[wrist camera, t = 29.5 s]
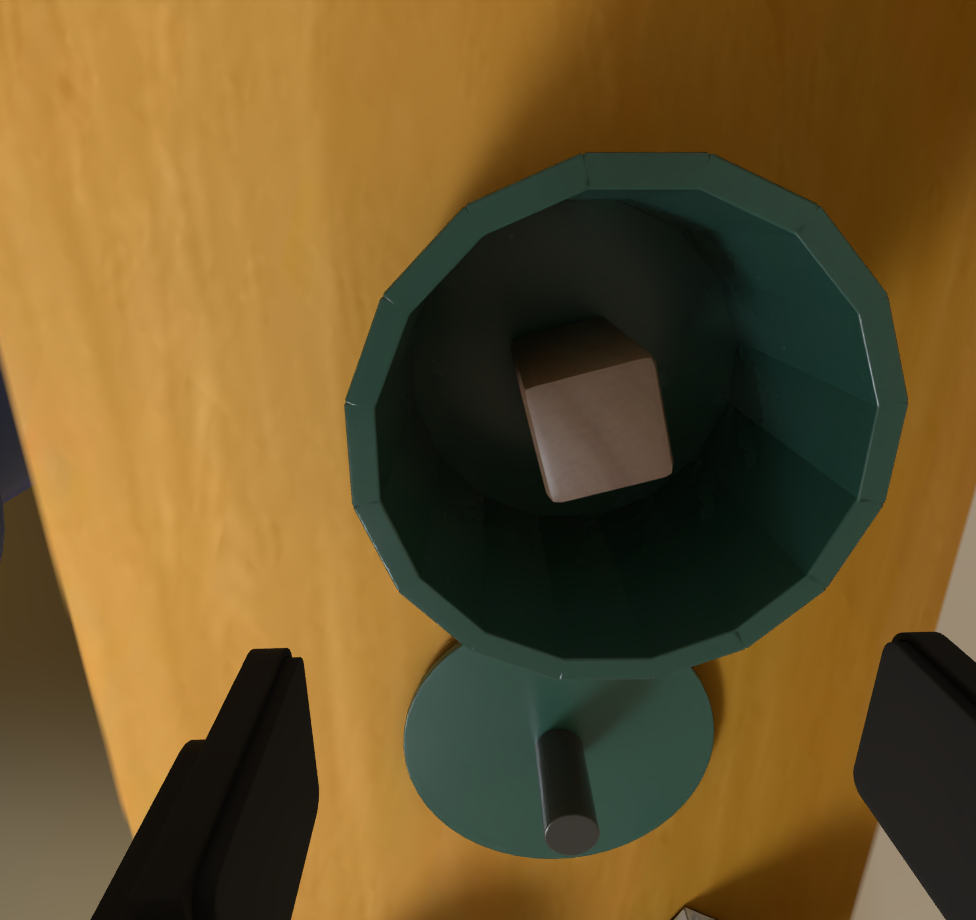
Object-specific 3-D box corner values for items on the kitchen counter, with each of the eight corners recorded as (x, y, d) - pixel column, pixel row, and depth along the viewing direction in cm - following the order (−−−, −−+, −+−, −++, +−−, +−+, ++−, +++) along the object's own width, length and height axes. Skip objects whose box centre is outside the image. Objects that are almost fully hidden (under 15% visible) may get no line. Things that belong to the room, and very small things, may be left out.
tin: (403, 527, 30) (365, 683, 20) (386, 178, 24) (323, 151, 15) (724, 526, 30) (844, 679, 20) (773, 178, 25) (968, 152, 15)
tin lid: (412, 842, 36) (399, 959, 31) (398, 602, 31) (380, 689, 25) (690, 839, 37) (729, 955, 31) (725, 600, 31) (780, 686, 25)
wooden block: (605, 312, 26) (657, 351, 18) (624, 406, 27) (679, 478, 20) (507, 338, 26) (519, 387, 19) (531, 430, 27) (550, 510, 20)
